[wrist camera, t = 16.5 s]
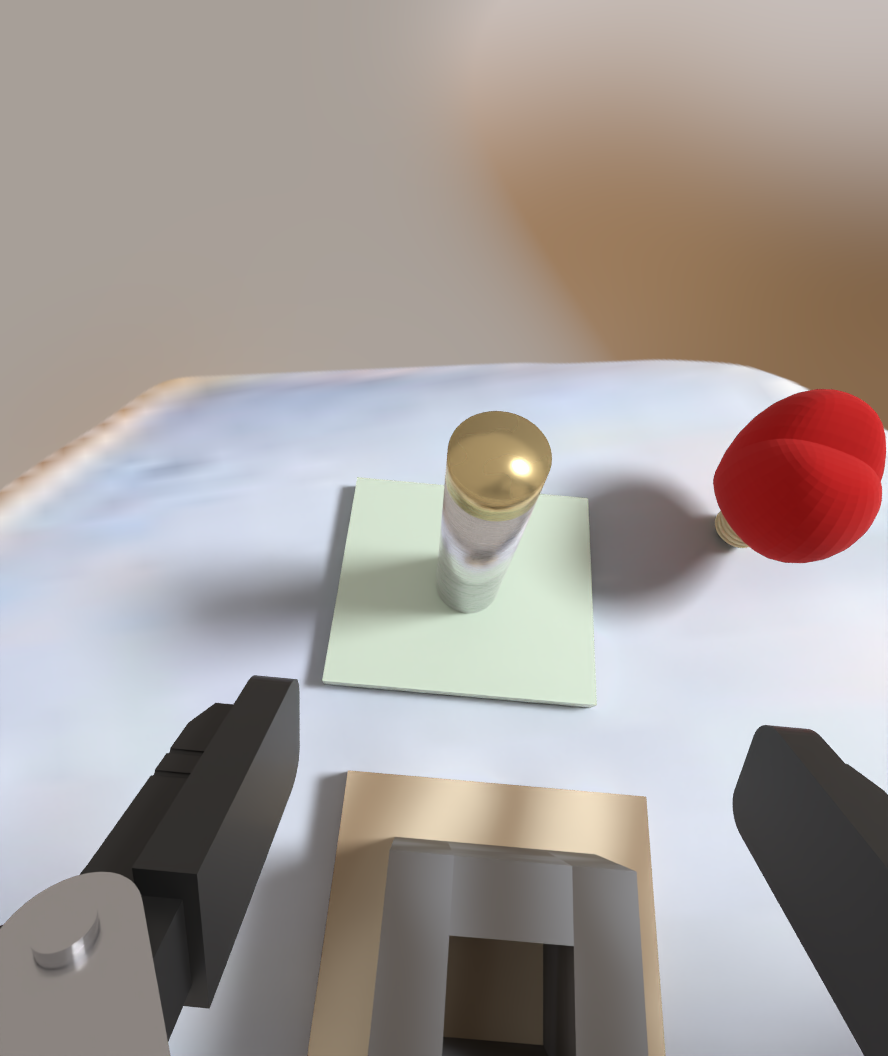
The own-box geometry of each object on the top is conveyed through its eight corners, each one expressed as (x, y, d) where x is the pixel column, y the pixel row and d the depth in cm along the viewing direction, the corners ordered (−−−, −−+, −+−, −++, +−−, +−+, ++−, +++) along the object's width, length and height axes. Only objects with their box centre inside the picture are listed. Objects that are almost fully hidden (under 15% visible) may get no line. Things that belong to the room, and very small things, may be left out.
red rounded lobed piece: (774, 624, 30) (924, 558, 21) (655, 575, 31) (751, 493, 22) (797, 495, 34) (933, 392, 25) (690, 454, 35) (785, 342, 26)
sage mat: (583, 505, 33) (587, 498, 32) (590, 707, 28) (596, 705, 27) (359, 485, 33) (357, 477, 32) (325, 683, 28) (322, 680, 27)
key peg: (500, 557, 30) (552, 416, 19) (497, 616, 29) (551, 504, 17) (439, 550, 30) (452, 406, 19) (432, 610, 29) (442, 493, 17)
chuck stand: (634, 795, 26) (696, 800, 20) (661, 1205, 20) (760, 1378, 14) (351, 770, 26) (332, 768, 20) (294, 1175, 20) (244, 1337, 14)
